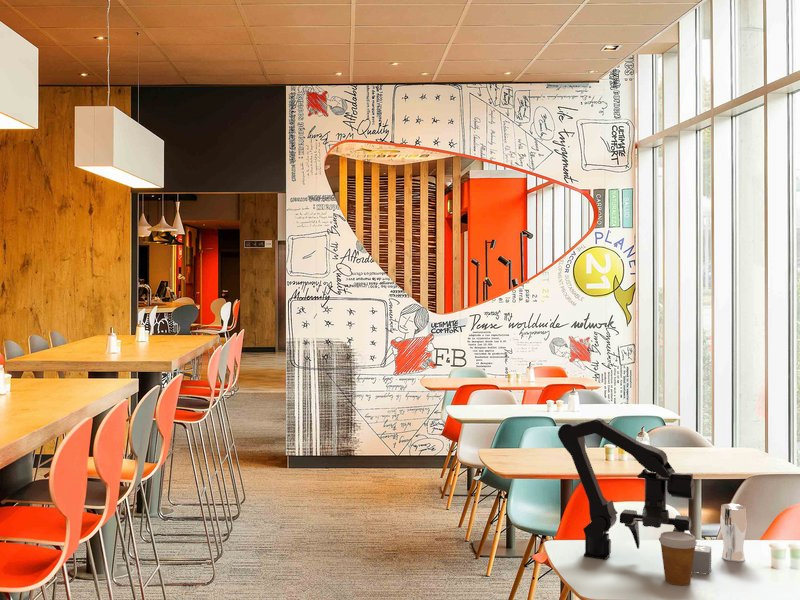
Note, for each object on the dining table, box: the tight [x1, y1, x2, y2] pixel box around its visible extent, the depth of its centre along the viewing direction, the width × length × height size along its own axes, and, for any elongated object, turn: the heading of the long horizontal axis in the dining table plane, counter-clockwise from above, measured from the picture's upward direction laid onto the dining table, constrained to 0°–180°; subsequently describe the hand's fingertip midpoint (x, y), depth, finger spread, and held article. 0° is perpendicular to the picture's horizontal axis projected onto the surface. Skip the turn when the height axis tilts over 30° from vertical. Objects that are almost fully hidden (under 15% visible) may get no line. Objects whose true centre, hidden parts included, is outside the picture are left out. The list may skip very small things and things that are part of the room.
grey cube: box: [692, 544, 712, 575], centre depth 227 cm, size 6×6×6 cm
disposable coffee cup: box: [658, 530, 698, 586], centre depth 217 cm, size 10×10×12 cm
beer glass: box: [719, 503, 747, 563], centre depth 237 cm, size 7×7×15 cm
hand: (655, 550), depth 232 cm, fingers open, 9 cm apart
